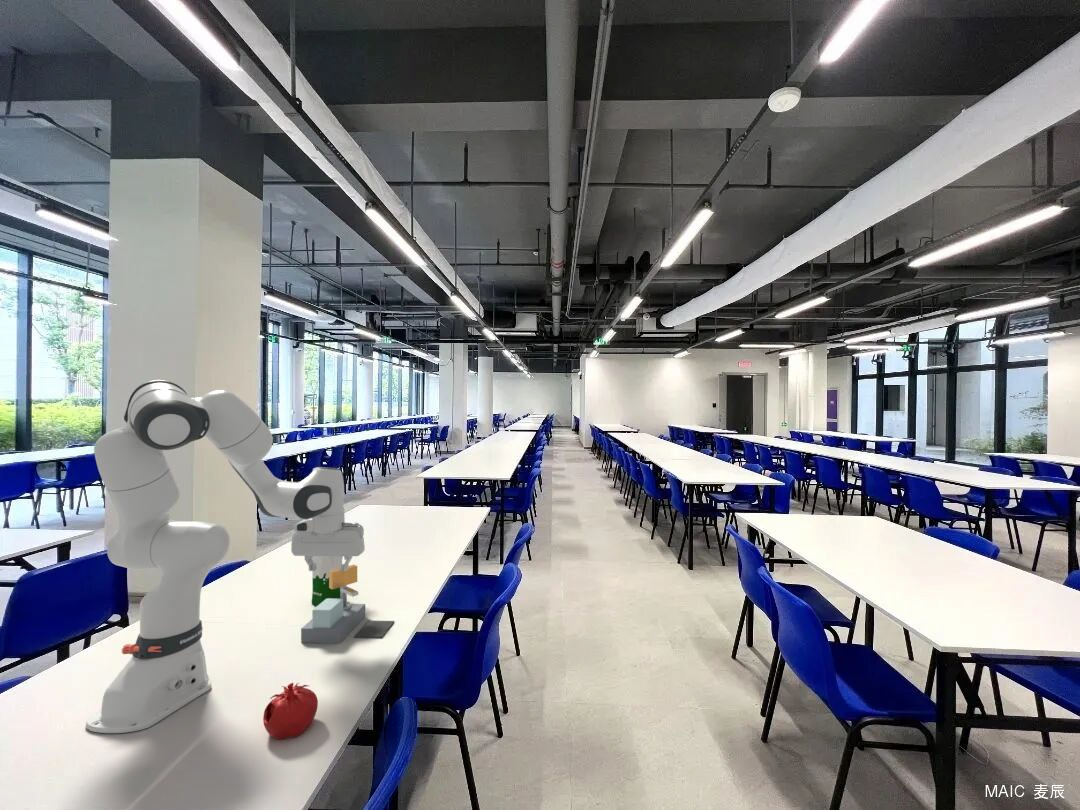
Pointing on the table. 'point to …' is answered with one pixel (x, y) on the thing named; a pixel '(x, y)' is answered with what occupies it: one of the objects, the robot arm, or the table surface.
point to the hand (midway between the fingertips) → (328, 570)
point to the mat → (374, 629)
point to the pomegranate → (290, 712)
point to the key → (343, 582)
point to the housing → (334, 626)
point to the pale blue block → (327, 613)
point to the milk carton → (324, 578)
